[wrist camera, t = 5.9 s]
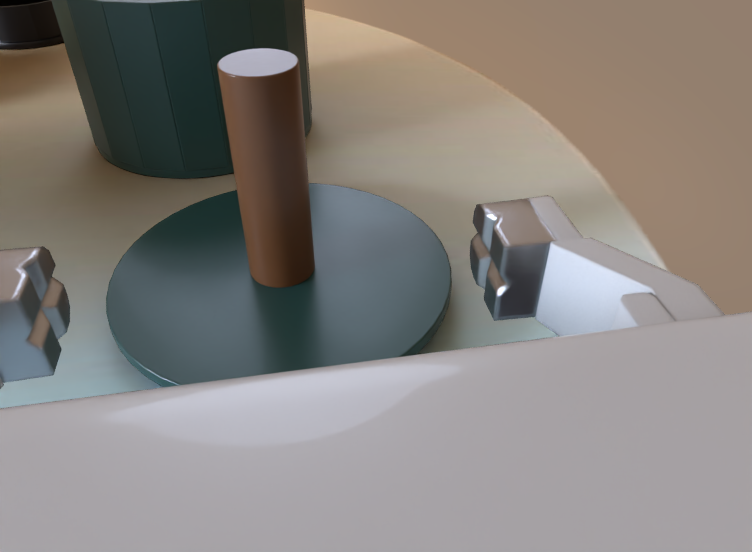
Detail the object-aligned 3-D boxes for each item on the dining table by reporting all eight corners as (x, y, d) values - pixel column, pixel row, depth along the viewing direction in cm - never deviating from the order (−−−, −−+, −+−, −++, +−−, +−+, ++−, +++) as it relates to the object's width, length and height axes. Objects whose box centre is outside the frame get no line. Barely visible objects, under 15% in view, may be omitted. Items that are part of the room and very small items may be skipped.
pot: (105, 199, 34) (48, 16, 28) (90, 103, 44) (45, -47, 38) (341, 152, 38) (335, -16, 32) (278, 74, 48) (265, -65, 42)
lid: (133, 475, 21) (24, 212, 14) (100, 238, 31) (29, 26, 25) (514, 351, 25) (561, 107, 19) (373, 180, 36) (372, -13, 29)
